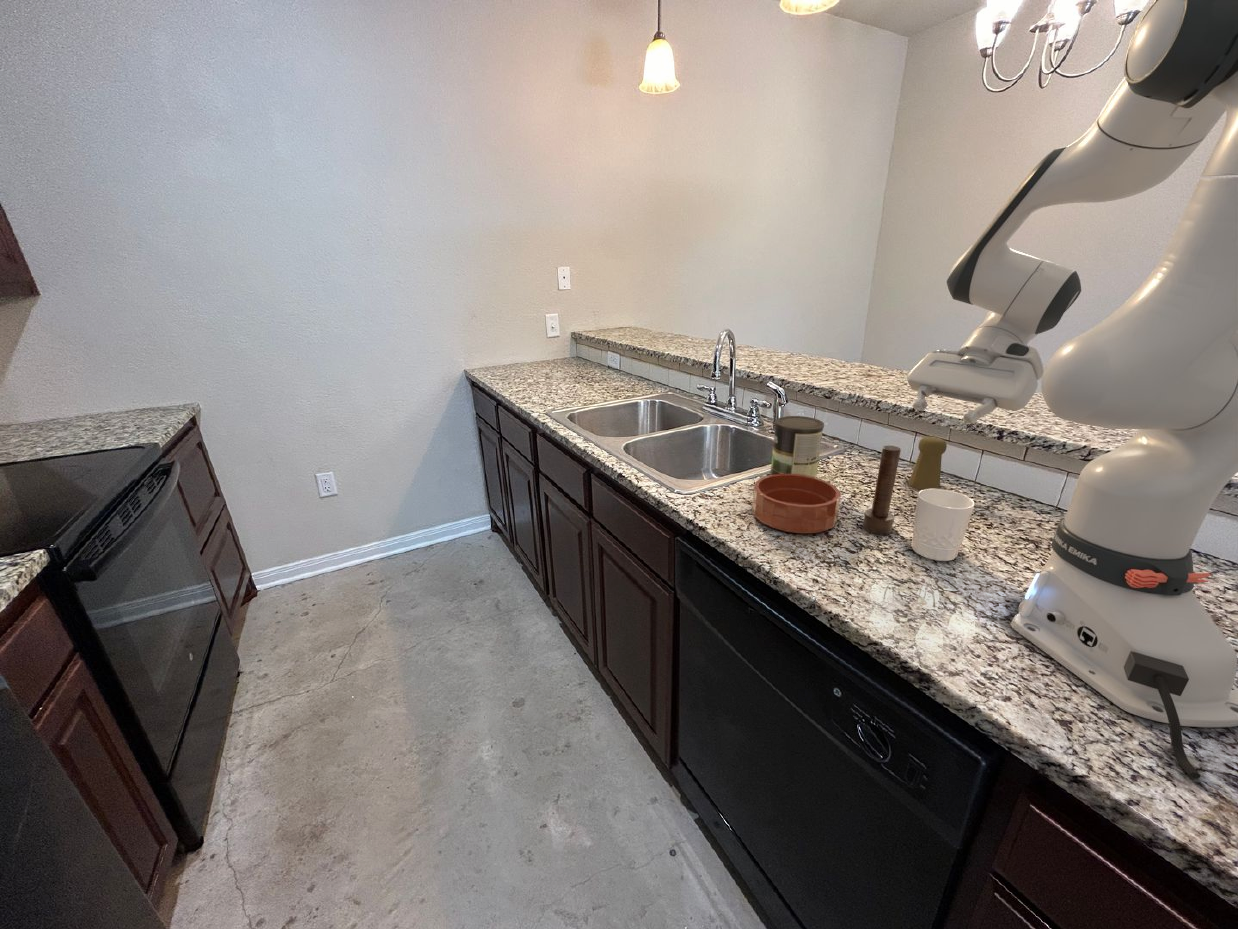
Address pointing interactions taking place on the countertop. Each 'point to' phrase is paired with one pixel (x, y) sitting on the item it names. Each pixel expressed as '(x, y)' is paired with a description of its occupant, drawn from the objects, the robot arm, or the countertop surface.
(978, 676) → the countertop surface
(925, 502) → the white cup
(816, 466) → the coffee can
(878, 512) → the muddler
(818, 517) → the bowl
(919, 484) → the pepper grinder
